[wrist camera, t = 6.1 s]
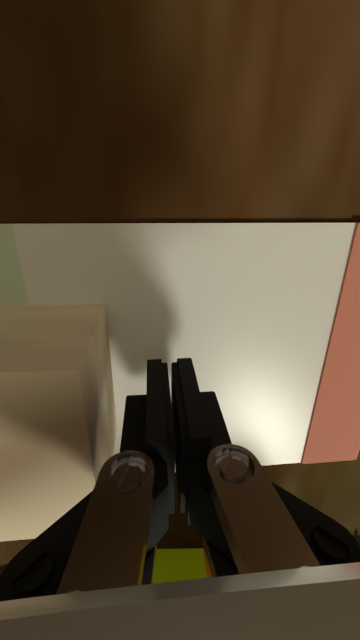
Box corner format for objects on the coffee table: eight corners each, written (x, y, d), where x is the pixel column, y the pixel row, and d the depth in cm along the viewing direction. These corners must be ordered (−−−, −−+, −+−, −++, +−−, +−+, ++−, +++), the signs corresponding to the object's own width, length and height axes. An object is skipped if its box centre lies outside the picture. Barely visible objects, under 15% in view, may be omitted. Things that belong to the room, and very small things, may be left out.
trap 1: (353, 456, 16) (356, 459, 16) (300, 460, 15) (302, 464, 15) (429, 222, 11) (434, 222, 11) (354, 222, 11) (358, 223, 11)
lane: (300, 460, 15) (301, 462, 15) (-205, 500, 13) (-207, 502, 13) (354, 222, 11) (356, 222, 11) (-413, 225, 9) (-419, 225, 9)
